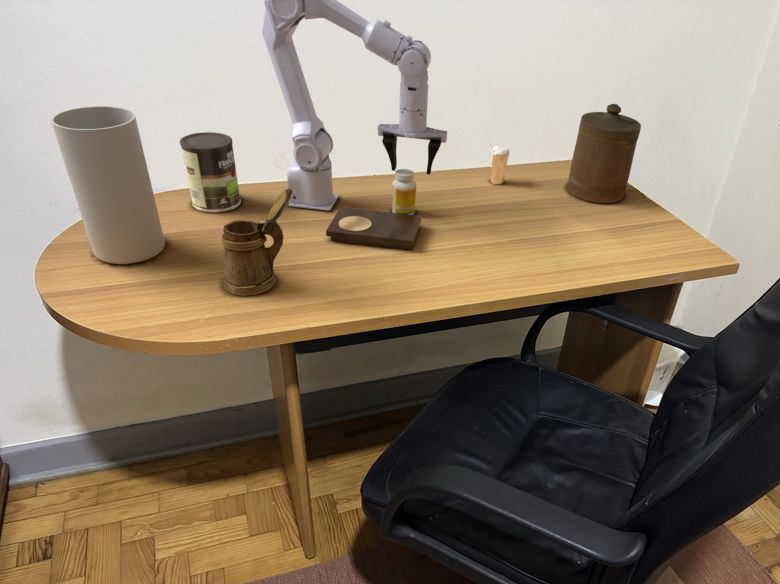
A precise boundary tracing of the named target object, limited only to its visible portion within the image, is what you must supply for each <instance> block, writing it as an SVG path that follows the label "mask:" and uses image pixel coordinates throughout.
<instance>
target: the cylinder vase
mask: <svg viewBox="0 0 780 584" xmlns="http://www.w3.org/2000/svg"><path fill="white" fill-rule="evenodd" d="M50 122H51V125H52V128H53V131H54V135H55V138H56V141H57V144H58V147H59V150H60V154H61V157H62V159H63V162H64V166H65V169H66V172H67V175H68V179H69V182H70V185H71V188H72V192H73V194H74V197H75V200H76V205H77V207H78V210H79V213H80V216H81V219H82V223H83V226H84V229H85V232H86V236H87V238H88V242H89V245H90V248H91V252H92V254H93V255H94V256H95V258H97V259H98V260H100V261H102V262H104V263H107V264H113V265H114V264H115V265H129V264H131V265H132V264H137V263H140V262H145V261H147V260H150V259H152V258H154V257H156V256H157V255H159V254H160V253H161V252H162V251H163V250H164V248H165V244H166V242H165V235H164V233H163V228H162V224H161V219H160V216H159V211H158V207H157V203H156V199H155V195H154V190H153V186H152V181H151V177H150V172H149V169H148V164H147V159H146V156H145V152H144V147H143V143H142V139H141V135H140V130H139V126H138V121H137V118H136V114H135V113H134V112H133V111H132V110H129V109H126V108H123V107H118V106H109V105H108V106H107V105H93V106H80V107H75V108H74V107H73V108H70V109H66V110H63V111H59V112H58V113H56V114H54V115H53V116H52V117H51V118H50Z"/></svg>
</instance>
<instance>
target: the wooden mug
mask: <svg viewBox="0 0 780 584" xmlns="http://www.w3.org/2000/svg"><path fill="white" fill-rule="evenodd" d="M292 192H293V191H292V190H291V189H288V188H287V189H285V190H282V192H280V194H279V195H278V197H277V198H276V200H275V201H274V202H273V205H272V206H271V208H270V210H269V213H268V215H267V218H266V220H261V221H257V222H255V221H253V220H249V219H238V220H233V221H230V222H227V223H226V224H225V225H224V226H223V233H222V235H221V244H222V246H223V252H224V253H223V254H224V255H223V256H224V274H223V288H224V290H226V292H228V293H229V294H232V295H235V296H242V297H247V296H248V297H249V296H256V295H259V294H262V293H266V292H267V291H269V290H271V289H272V288H273V286H274V285H275V284H276V281H277V275H276V273H275V270H274V262H275V260H276V258H277V256H278V254H279V252H280V250H281V248H282V246H283V244H284V233H283V229H282V227H281V226H280V225H279V223H278V222H277V220H278V219H279V218H280V216H281V215H282V214H283V212H284V211H285V209H286V207H287V205H289V203H290V201H289V200H290V198H291V195H292ZM266 235H267V236H270V237H271V238H272V240H273V243H272V244H271V245H270V246H268V247H267V246H266V245H265V243H266V242H267V241H268V239H267V236H266Z"/></svg>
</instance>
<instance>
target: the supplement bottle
mask: <svg viewBox="0 0 780 584" xmlns="http://www.w3.org/2000/svg"><path fill="white" fill-rule="evenodd" d="M414 175H415V173H414V171H413V170H412V169H408V168H399V169H396V170H395V175H394V177H395V178H394V180H392V182H391V213H399V214H408V215H415V213H416V202H417V201H416V200H417V199H416V197H417V183H416V181H415V180H414V179H415V176H414Z"/></svg>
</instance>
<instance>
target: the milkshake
mask: <svg viewBox="0 0 780 584" xmlns="http://www.w3.org/2000/svg"><path fill="white" fill-rule="evenodd" d="M489 145H490V146H489V147H490V149H491V157H490V159H491V164H490V182H491V183H492V184H493V185H502V184H504V181H505V177H506V171H507V166H508V161H509V157H510V150H509V149H508V147H506V146H503V145H495V146H494V147H492V144H489Z"/></svg>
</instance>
